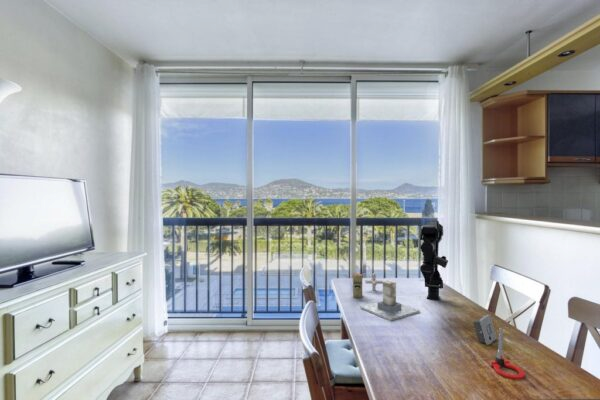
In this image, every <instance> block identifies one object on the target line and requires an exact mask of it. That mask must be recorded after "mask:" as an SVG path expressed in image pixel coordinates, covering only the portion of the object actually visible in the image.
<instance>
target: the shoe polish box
mask: <svg viewBox="0 0 600 400" xmlns="http://www.w3.org/2000/svg"><path fill="white" fill-rule="evenodd" d="M352 274H353V275H352V296H353V297H352V298H359V299H362V298H363V274H362V273H352Z"/></svg>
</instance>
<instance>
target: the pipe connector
mask: <svg viewBox="0 0 600 400" xmlns="http://www.w3.org/2000/svg"><path fill="white" fill-rule="evenodd" d="M371 277H372V278H371V280H368V279H367V280H365V281H364V283H365V284H371V287H372V290H373V291H372V290H371V291H372V292H376V286H377V284H379V285H381V284H382V285H383V281H384V280H376V273H375V272H374V273H373V272H372V275H371Z"/></svg>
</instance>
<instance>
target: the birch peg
mask: <svg viewBox="0 0 600 400" xmlns="http://www.w3.org/2000/svg"><path fill="white" fill-rule="evenodd" d="M382 281H383V284H382V301H383V304H386V305H388V306H392V305H396V302H397V282H396V281H394V280H390V279H389V280H385V281H384V280H382Z"/></svg>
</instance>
